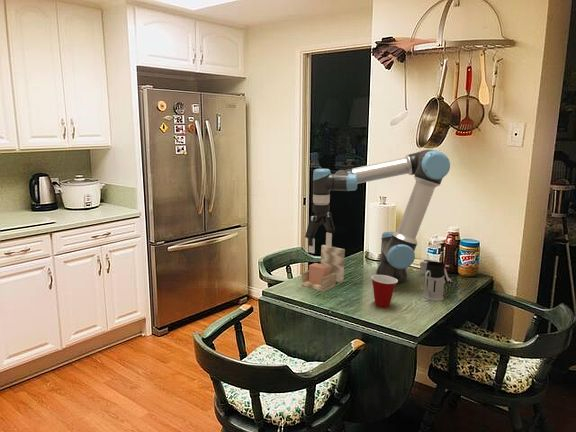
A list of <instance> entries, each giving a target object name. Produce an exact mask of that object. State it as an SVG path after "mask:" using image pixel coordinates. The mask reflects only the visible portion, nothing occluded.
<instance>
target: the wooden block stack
mask: <svg viewBox="0 0 576 432" xmlns="http://www.w3.org/2000/svg"><path fill="white" fill-rule="evenodd" d="M320 247H321V248H320V264H322V265H326V266H330V269H329V275H327V276H325V277H322V278H321V285H318V284H315V283H311V282H309V269H308V270H305V271H304V272H302V273H301V286H304V287H306V288H309V289H312V290H317V291H320V292H325V291H327V290H329V289H331V288H333V287H336V282H337V283H340V284H342V283H344V277H345V257H346V256H345V253H346V249H345V248H340V247H336V246H332V247H328V246H326V244H322V245H321V246H320Z"/></svg>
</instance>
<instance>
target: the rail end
mask: <svg viewBox="0 0 576 432" xmlns="http://www.w3.org/2000/svg"><path fill="white" fill-rule="evenodd" d="M329 269H330V266H326V265H322V264H321V263H318V262H313V263H312V264H309V265H308V270H309V282H311V283H315V284H318V285H321V278H322V277H325V276H327V275H329Z"/></svg>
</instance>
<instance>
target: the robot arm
mask: <svg viewBox="0 0 576 432" xmlns="http://www.w3.org/2000/svg"><path fill="white" fill-rule="evenodd" d="M450 169H451V162H450V158H449V157H448V156H447V154H445V153H444V152H442V151H440V150H436V149H435V150H434V149H423V150H421V151H420V150H419V151H417V152H414V153H413V152H412V153H410V154H406V155H405V156H404V157H402V158H396V159H393V160H392V159H391V160H387V161H380V162H378V163H377V162H376V163H373V164H367V165H362V166H359V167H358V166H357V167H353V168H349V169H339V170H337V171H336V172H335V173H331V170H330V169H329V168H315V169H314V170H313V175H312V213H314V215H310V216H309V222H308V226H307V228H306V232H305V235H304V237H305V238H306V239H308V253H311V254H315V252H316V250H315V248H316V247H315V246H316V245H315V242H316V239H315V236H316V234H317V231H318V229H319V227H320V226H321V225H323V226H324V229H325V230H326V233H325V245H326V246H328V247H333V246H332V245H333V244H332V243H333V242H332V240H333V234H334V233H335V232H336V231H335V230H336V227H335V224H334V221H333V220H334V219H333V216H332V212H330V207H331V206H330V199H331V191H340V192H341V191H343V192H350V191H351V192H353V191H356V190H357V189H358V184H362V183H363V184H364V183H367V182H373V181H378V180H382V179H383V180H384V179H389V178H393V177H398V176H404V175H407V174H408V175H409V176H413V177H414V180H415V183H414V186H413V188H412V191H411V193H410V196H409V198H408V201H407V204H406V206H405V209H404V212H403V214H402V218H401V221H400V223H399V226H398V228H397V231H383V232H382V234H381V246H380V262H379V264H378V267H377V269H376V272H375V275H386V276H390V277H393V278H395V279H397V280H398V282H397V283H396V284H402V283H406V282H407V281H408V279H409V276H408V275H409V274H408V272H407V268H409V267H410V266H411V265H413V264H414V261H415V258H416V253H415V250H416V247H417V246H418V240H417V236H418V233H419V230H420V228H421V225H422V223H423V220H424V218H425V215H426V213H427V210H428V208H429V205H430V203H431V199H432V197H433V194H434V193H435V190H436V188H437V187H439V186H440V185H441V183H442V181H443V179H444V178H445V177H446V176H447V175H448V173H449V172H450Z"/></svg>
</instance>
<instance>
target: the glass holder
mask: <svg viewBox="0 0 576 432" xmlns="http://www.w3.org/2000/svg"><path fill="white" fill-rule="evenodd" d="M435 261H436V260H434V261H431V262H427V268H426V274H425V275H424V290H423V291H424V292H423V294H422V297H423V298H425V299H426V300H430V301H442V300H444V287H445V283H444V276H445V275H444V271H445V269H446V263H444V262H440V261H436V262H435Z"/></svg>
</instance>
